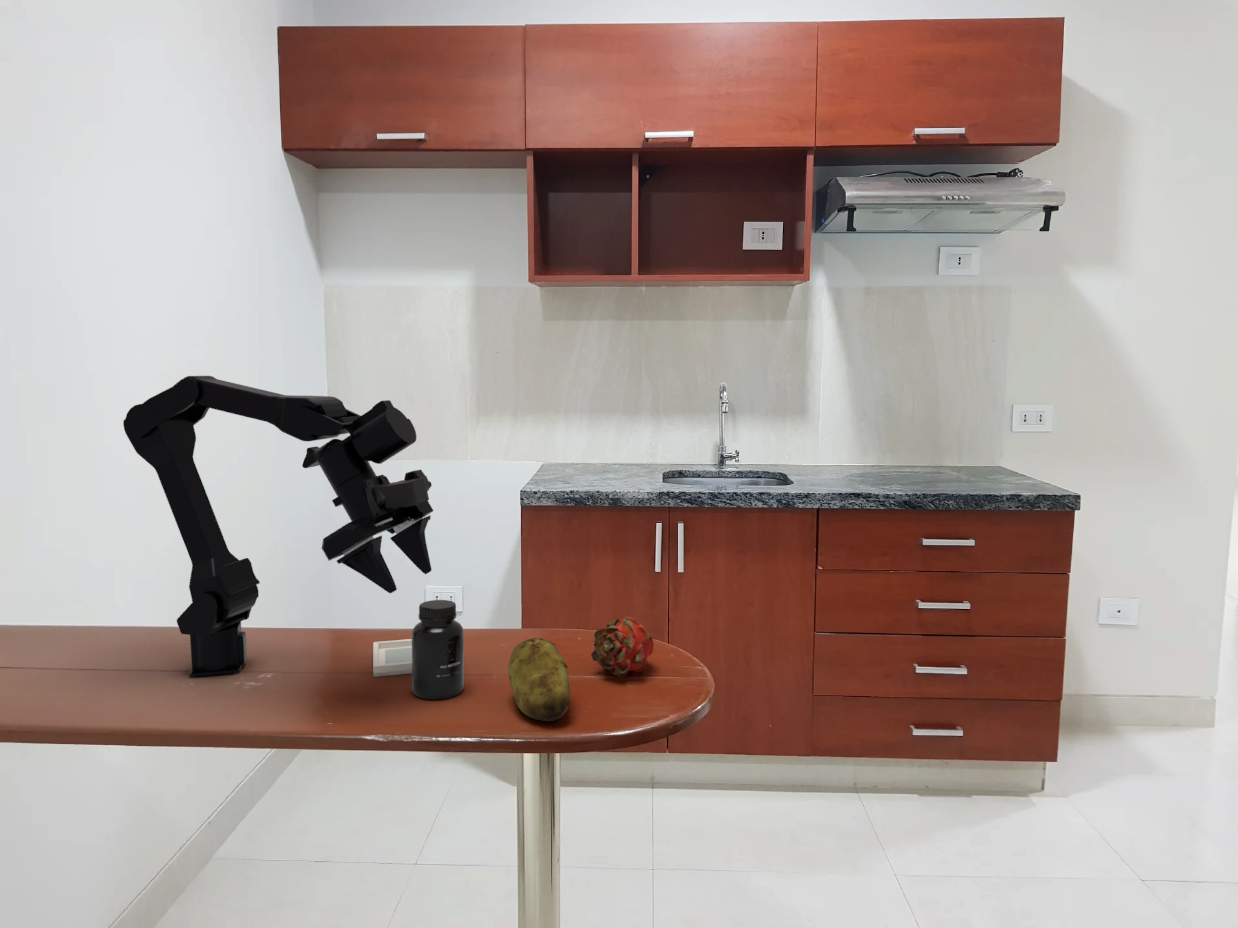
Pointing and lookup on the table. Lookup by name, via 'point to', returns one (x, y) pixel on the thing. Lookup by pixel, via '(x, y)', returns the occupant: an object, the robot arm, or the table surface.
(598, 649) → the dragon fruit
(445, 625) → the supplement bottle
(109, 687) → the table surface
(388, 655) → the cream ceramic dish
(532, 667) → the potato
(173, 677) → the table surface
